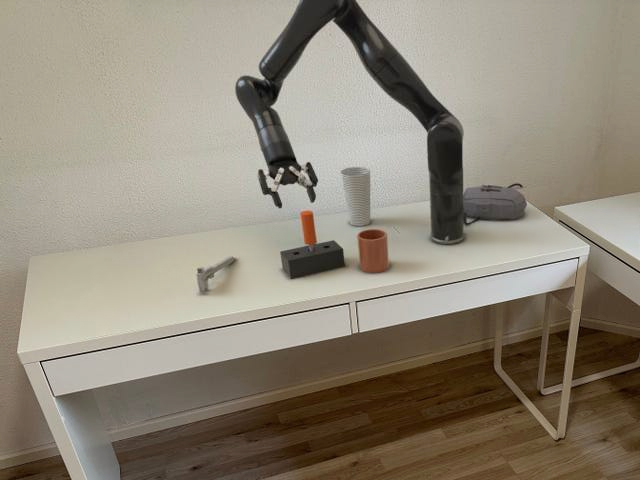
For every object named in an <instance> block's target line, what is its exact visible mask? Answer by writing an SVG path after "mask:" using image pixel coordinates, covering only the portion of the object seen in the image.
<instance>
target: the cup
mask: <svg viewBox="0 0 640 480" xmlns="http://www.w3.org/2000/svg"><path fill="white" fill-rule="evenodd" d="M340 176H341V182H342V188H343V192H344V198H345V203H346V208H347V209H346V210H347V214H348V219H349V223H350V225H352V226H354V227H362V226H363V227H364V226H367V225H370V223H371V169H369V168H367V167H364V166H351V167H346V168H343V169H342V170H340Z"/></svg>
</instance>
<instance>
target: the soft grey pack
mask: <svg viewBox="0 0 640 480" xmlns="http://www.w3.org/2000/svg"><path fill="white" fill-rule="evenodd" d="M463 204H464V212H467V217H469V218H473V219H474V218H475V219H476V218H478V217H480V219H479V220H489V221H492V220H493V221H494V220H495V221H497V220H498V221H499V220H514V219H517V218H521V217H522V216H523V215H524V214H525V210H526V208H527V206H528V203H527V200H526V197H525V195H524V194H523V193H522V192H520V191H519V190H517V189H514V188H512V187H511V188H508V186H500V185H491V184H489V185H486V184H485V185H484V184H482V185H479V186H473V187H467V188H466V189H465V190H464V191H463Z"/></svg>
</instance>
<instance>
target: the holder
mask: <svg viewBox="0 0 640 480" xmlns="http://www.w3.org/2000/svg"><path fill="white" fill-rule="evenodd" d="M313 250H314V251H311V252H310V247H309V245H305V246H300V247H295V248H289V249H286V250H281V251H279V254H280V261H281V266H282V270H283V271H284V273H285V274H286V275H287V276H288V277H289V278H290V279H291V280H292V279H296V278H301V277H305V276H310V275H314V274H318V273H323V272H326V271H332V270H335V269H339V268H344V267H346V263H345V253H344V248H343V247H342V246H341V245H340V244H339V243H337V242H336V241H335V240H334V239H333V240H329V241H324V242H319V243H318V242H317V243H316V244H313Z"/></svg>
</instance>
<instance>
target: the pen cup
mask: <svg viewBox="0 0 640 480" xmlns="http://www.w3.org/2000/svg"><path fill="white" fill-rule="evenodd" d="M356 239H357V248H358V249H357V250H358V258H359V259H358V260H359V267H360V270H361V271H362V272H365V273H367V274H378V273H384V272H385V271H387V270H388V269H389V268H390V258H389V257H390V256H389V244H388V243H389V242H388V233H387V232H386V231H385V230H382V229H378V228H369V229H364V230H361V231H359V232H358V233H357V235H356Z"/></svg>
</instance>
